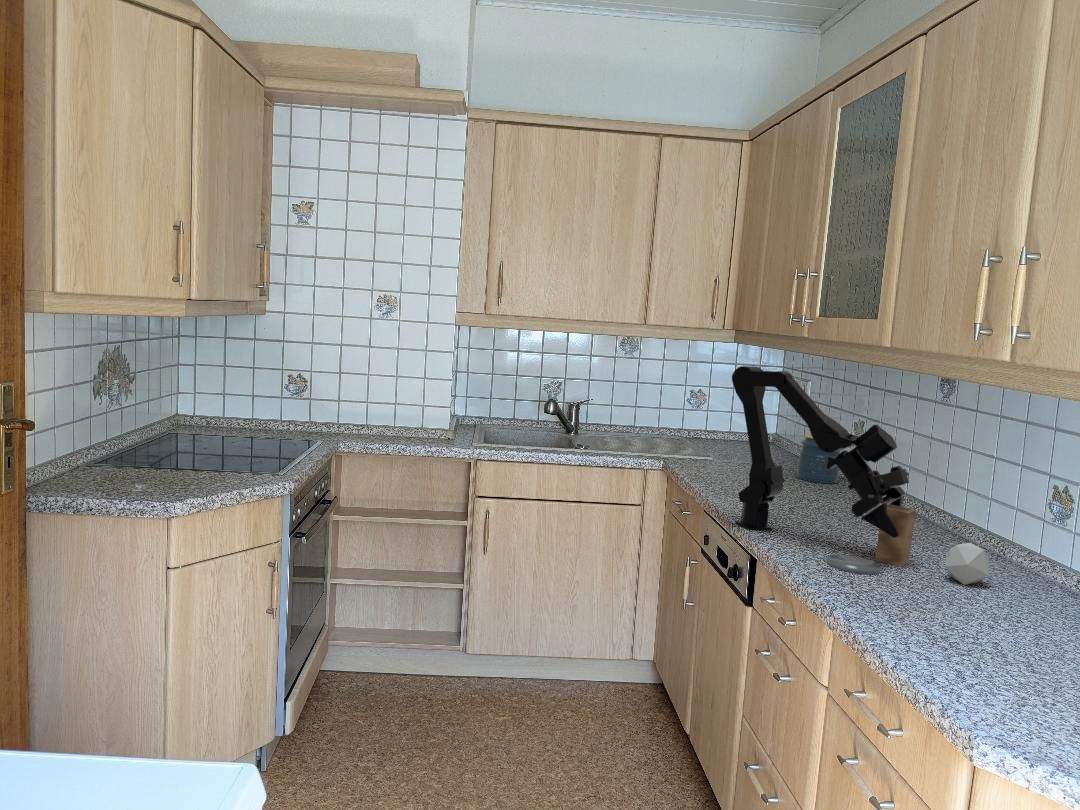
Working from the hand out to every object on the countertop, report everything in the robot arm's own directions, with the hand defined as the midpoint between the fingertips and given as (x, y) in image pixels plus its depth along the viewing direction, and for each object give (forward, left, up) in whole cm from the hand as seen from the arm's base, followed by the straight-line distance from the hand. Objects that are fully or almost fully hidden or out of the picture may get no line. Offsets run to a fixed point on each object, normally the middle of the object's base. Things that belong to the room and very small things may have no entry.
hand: (902, 533), depth 190 cm
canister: (-86, +43, -7) cm, 96 cm away
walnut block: (-1, -1, -7) cm, 7 cm away
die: (+12, +6, -7) cm, 15 cm away
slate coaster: (+1, -13, -7) cm, 15 cm away
